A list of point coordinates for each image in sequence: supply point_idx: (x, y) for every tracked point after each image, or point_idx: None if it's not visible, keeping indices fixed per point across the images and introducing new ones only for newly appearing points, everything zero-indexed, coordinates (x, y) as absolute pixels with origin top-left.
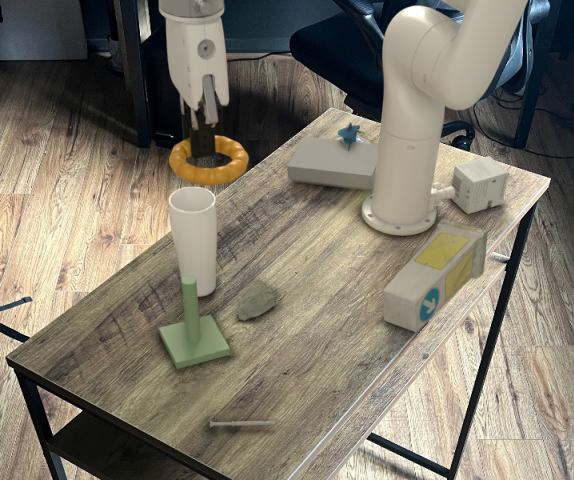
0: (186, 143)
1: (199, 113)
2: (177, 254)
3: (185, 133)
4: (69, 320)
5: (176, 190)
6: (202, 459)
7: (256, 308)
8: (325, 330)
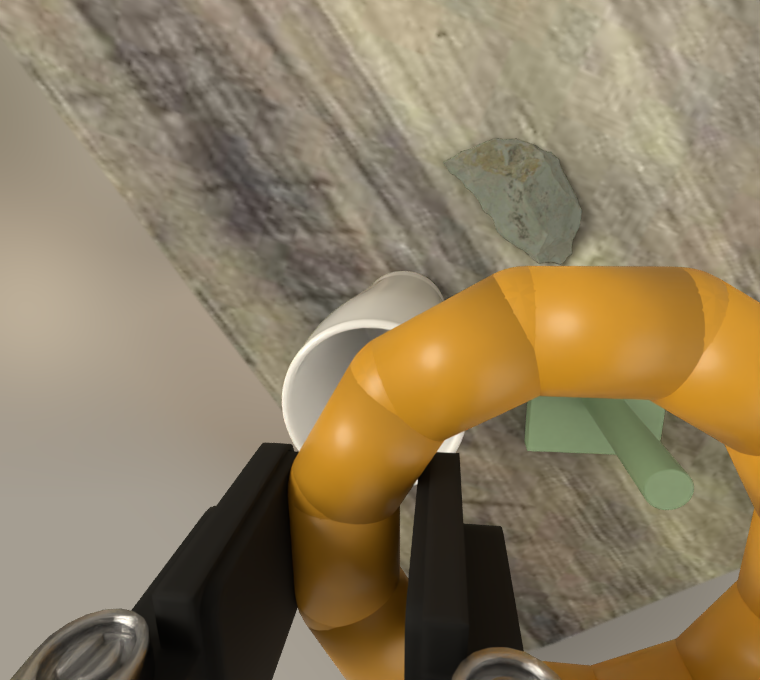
0: (391, 668)
1: (196, 675)
2: None
3: (281, 651)
4: (407, 571)
5: (295, 442)
6: None
7: (562, 213)
8: (716, 50)
